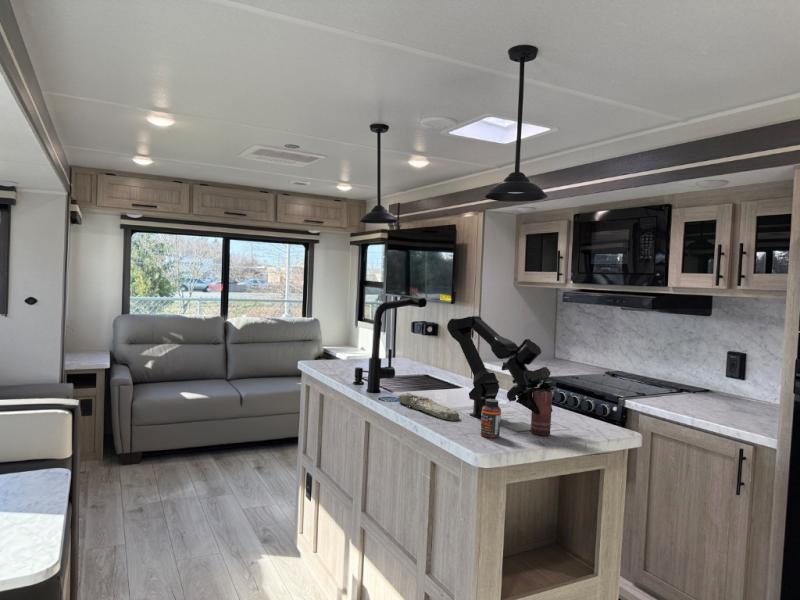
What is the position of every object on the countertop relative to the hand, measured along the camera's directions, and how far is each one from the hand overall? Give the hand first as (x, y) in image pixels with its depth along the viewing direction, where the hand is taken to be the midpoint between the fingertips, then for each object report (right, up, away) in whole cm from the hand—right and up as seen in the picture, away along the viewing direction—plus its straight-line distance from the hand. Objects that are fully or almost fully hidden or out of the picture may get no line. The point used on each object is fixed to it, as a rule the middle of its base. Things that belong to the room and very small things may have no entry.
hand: (545, 413), depth 182 cm
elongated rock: (-36, -5, +29) cm, 47 cm away
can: (-1, -7, +1) cm, 7 cm away
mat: (-6, -7, +9) cm, 13 cm away
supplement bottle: (-18, -7, -4) cm, 20 cm away
